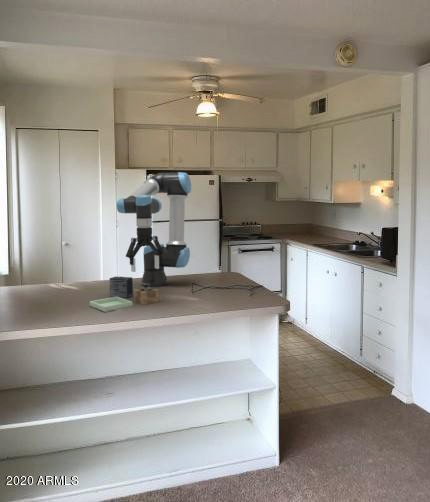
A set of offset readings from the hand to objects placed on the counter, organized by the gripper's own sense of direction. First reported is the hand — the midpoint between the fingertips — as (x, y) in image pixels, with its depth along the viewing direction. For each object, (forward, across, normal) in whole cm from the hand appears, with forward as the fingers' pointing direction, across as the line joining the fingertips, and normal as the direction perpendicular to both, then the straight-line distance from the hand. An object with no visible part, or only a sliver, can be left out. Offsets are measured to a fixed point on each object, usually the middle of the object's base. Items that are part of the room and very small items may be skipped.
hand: (145, 270), depth 253 cm
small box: (+17, -3, +19) cm, 26 cm away
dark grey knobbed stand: (+17, 0, 0) cm, 17 cm away
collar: (+16, 0, 0) cm, 16 cm away
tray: (+17, -17, +5) cm, 24 cm away
